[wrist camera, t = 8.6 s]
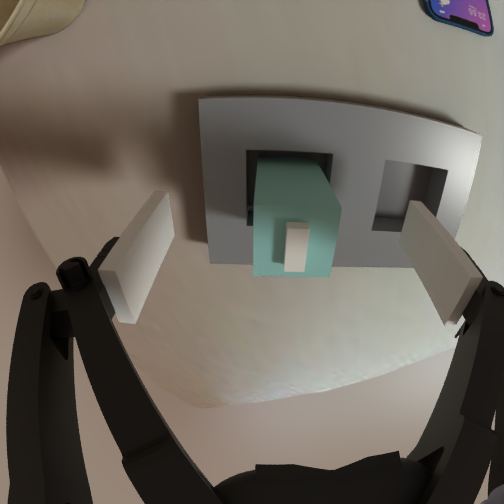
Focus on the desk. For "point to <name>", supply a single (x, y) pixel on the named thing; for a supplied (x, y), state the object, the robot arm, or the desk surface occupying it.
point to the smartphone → (462, 14)
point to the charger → (293, 218)
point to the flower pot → (35, 18)
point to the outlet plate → (334, 169)
